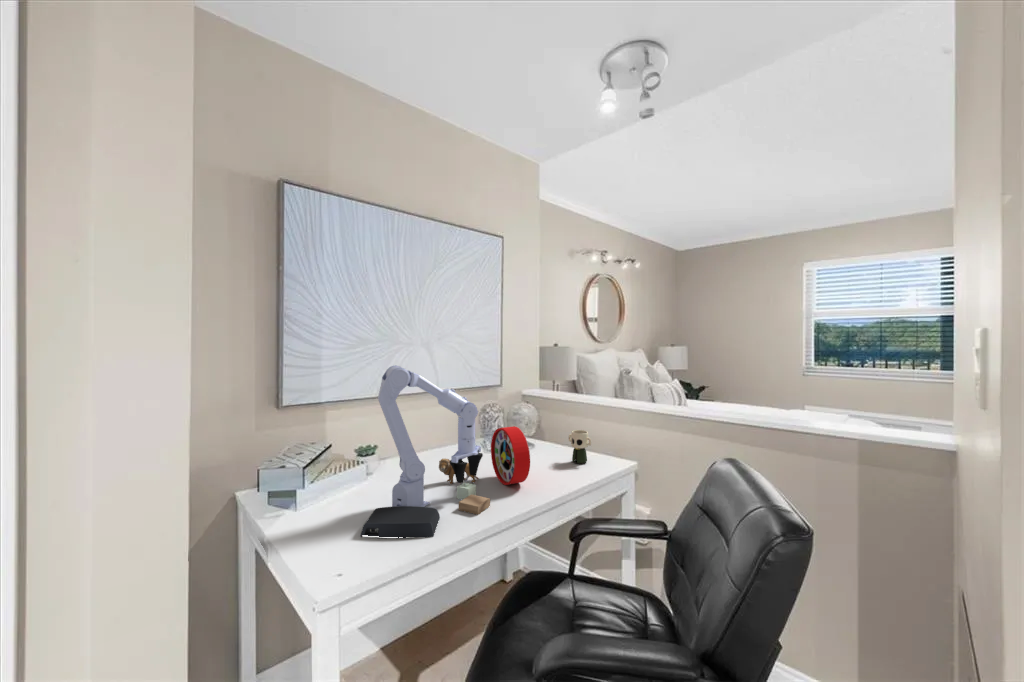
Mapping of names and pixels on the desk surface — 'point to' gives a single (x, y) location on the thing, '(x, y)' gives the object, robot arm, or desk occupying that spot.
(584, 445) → the character mug
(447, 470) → the lion figurine
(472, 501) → the base brick
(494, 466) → the toy clock
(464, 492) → the sage brick
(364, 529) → the external hard drive
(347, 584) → the desk surface
